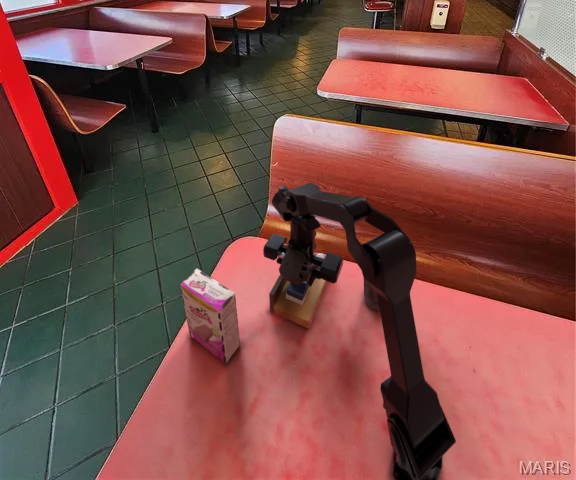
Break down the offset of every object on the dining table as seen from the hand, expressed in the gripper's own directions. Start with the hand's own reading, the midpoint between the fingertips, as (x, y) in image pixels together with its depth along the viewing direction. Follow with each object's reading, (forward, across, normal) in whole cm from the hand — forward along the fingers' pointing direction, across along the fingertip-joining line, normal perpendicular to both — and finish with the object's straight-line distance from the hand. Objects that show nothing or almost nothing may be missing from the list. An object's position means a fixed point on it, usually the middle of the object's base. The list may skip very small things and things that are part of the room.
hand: (302, 281), depth 82 cm
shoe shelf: (+4, 0, 0) cm, 4 cm away
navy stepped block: (+1, 0, 0) cm, 1 cm away
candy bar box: (+4, -13, -19) cm, 23 cm away
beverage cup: (+4, +17, +5) cm, 18 cm away
